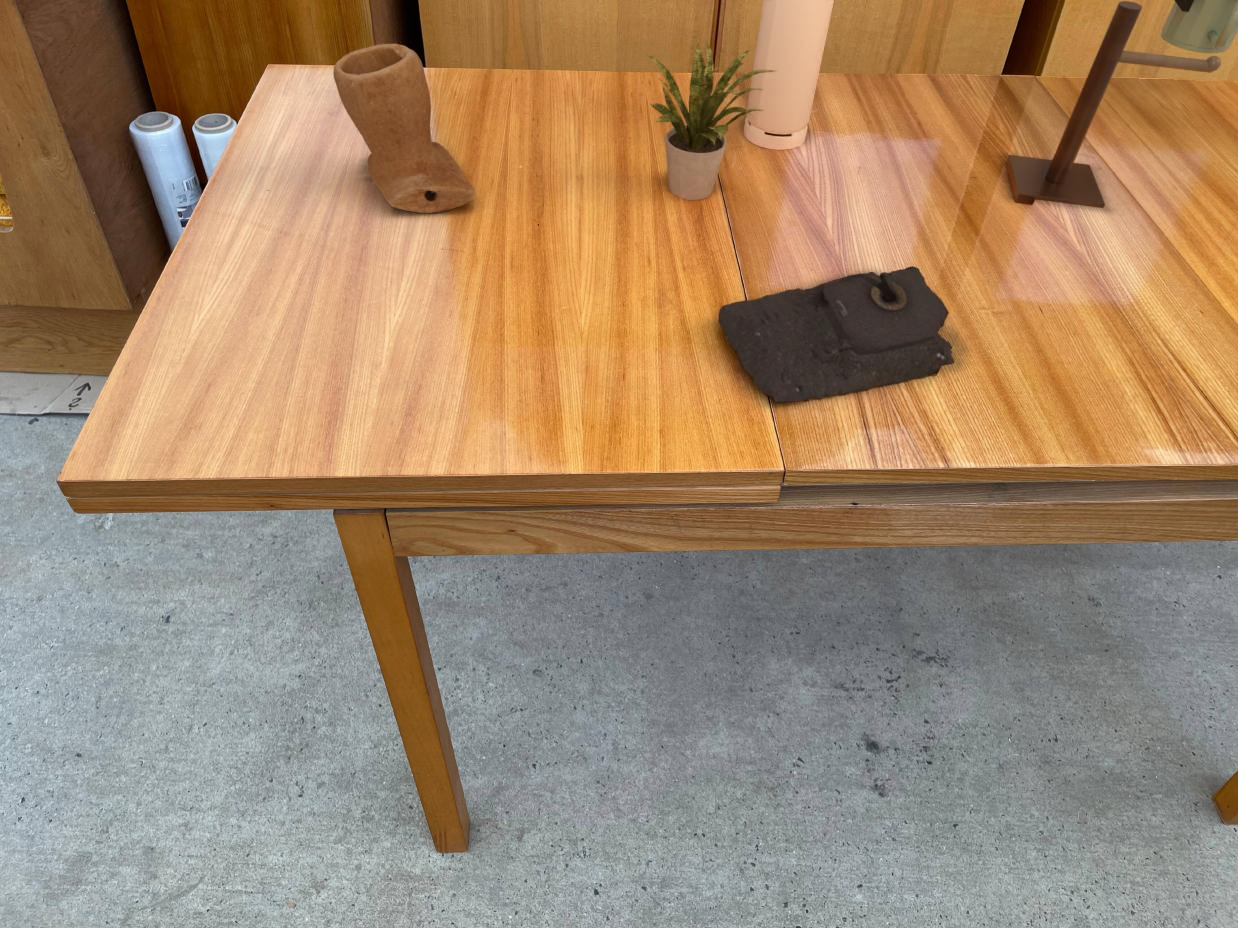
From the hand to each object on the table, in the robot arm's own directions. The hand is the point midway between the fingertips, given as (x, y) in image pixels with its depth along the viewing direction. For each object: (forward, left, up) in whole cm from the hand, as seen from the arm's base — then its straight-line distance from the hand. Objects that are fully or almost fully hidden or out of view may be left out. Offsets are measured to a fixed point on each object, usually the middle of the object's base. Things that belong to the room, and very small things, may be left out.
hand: (1229, 4), depth 106 cm
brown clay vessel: (+72, +67, -18) cm, 100 cm away
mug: (+1, -3, -6) cm, 7 cm away
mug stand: (+6, +20, -18) cm, 28 cm away
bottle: (+43, +29, -18) cm, 55 cm away
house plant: (+45, +48, -18) cm, 68 cm away
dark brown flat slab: (+21, +66, -18) cm, 71 cm away
